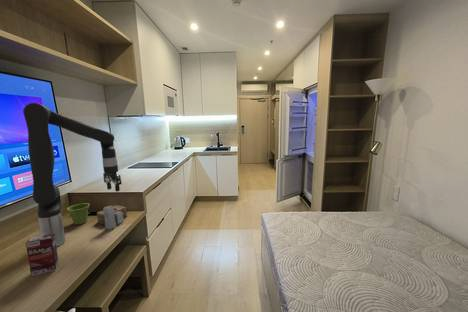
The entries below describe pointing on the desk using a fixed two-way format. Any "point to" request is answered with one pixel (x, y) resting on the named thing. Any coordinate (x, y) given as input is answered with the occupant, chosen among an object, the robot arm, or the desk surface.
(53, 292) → the desk surface
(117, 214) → the grey rectangular block
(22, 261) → the desk surface
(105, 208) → the tall pin
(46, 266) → the supplement box
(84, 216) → the plant pot
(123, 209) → the block with rectangular hole
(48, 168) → the robot arm
